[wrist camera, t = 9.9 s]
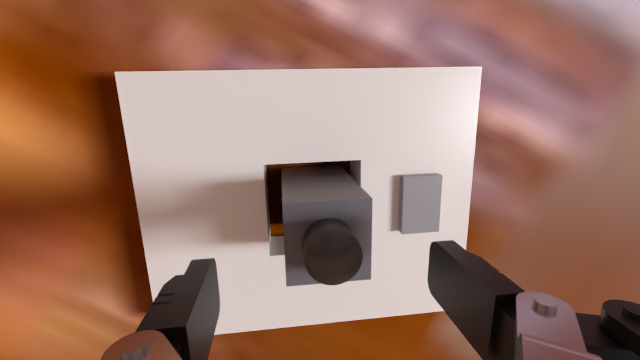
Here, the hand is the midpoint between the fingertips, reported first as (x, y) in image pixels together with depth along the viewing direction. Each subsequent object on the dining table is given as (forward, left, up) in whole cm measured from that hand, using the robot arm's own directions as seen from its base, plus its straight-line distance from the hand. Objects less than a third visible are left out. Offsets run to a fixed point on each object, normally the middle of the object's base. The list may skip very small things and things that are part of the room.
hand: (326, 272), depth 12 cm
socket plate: (0, 0, -11) cm, 11 cm away
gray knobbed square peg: (+1, 0, -11) cm, 11 cm away
